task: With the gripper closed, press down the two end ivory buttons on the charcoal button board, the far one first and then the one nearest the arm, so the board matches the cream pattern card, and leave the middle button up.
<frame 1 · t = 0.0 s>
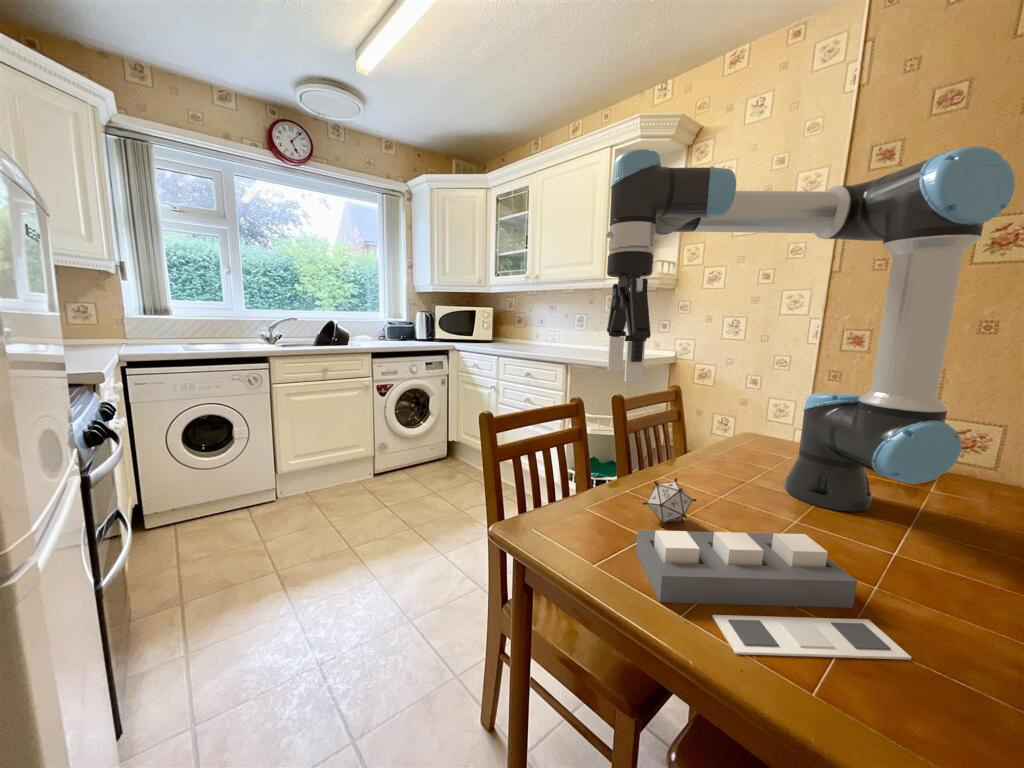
hand: (623, 375, 74), 28 cm above the table, tool pointing down, fingers open, 13 cm apart
pattern card: (805, 636, 51), on the table
button board: (733, 577, 62), on the table
middle button: (736, 550, 62), point 5 cm above the table, slide at 0.0 cm
game die: (667, 522, 79), on the table
button near arm: (798, 551, 61), point 5 cm above the table, slide at 0.0 cm
button far: (675, 548, 62), point 5 cm above the table, slide at 0.0 cm
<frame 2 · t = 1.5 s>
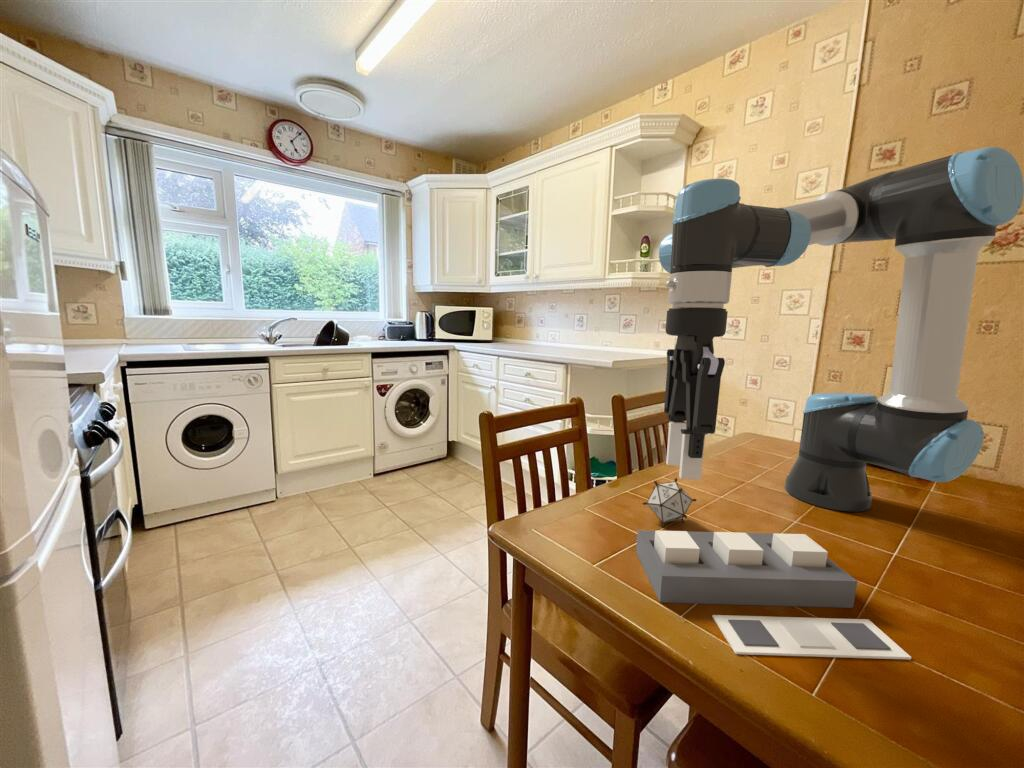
hand: (682, 470, 60), 17 cm above the table, tool pointing down, fingers open, 4 cm apart
nothing on the table moved.
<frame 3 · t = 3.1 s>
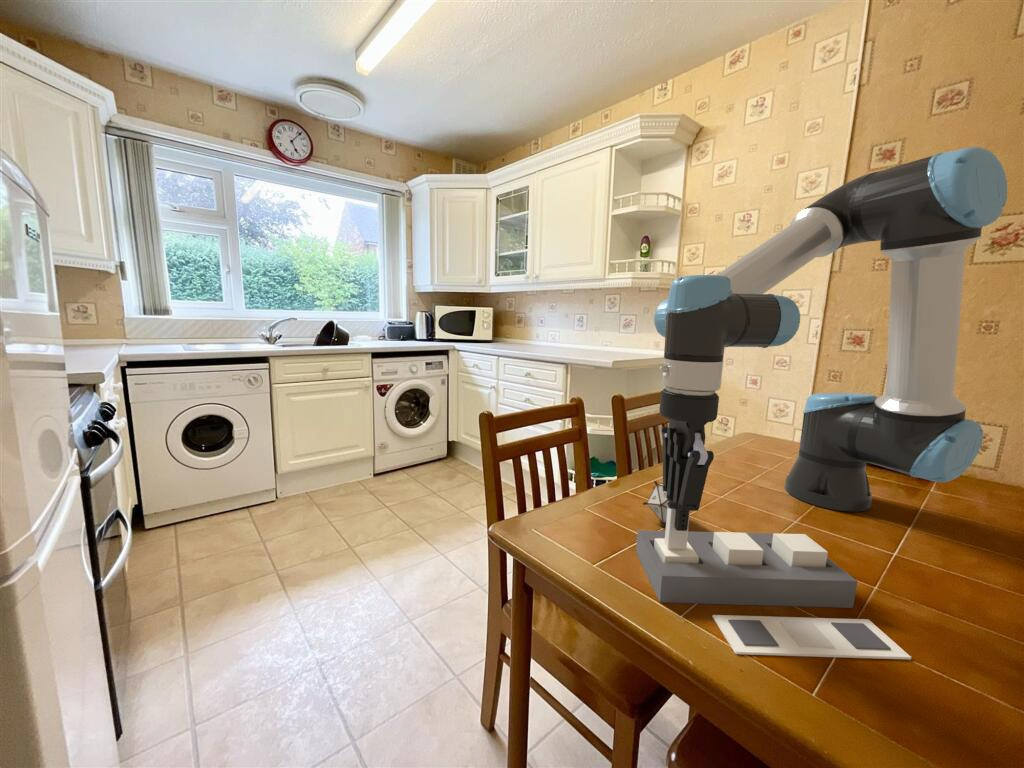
hand: (675, 545, 62), 5 cm above the table, tool pointing down, fingers closed
button far: (675, 556, 62), point 3 cm above the table, slide at 1.3 cm, touching gripper
everything else where it was.
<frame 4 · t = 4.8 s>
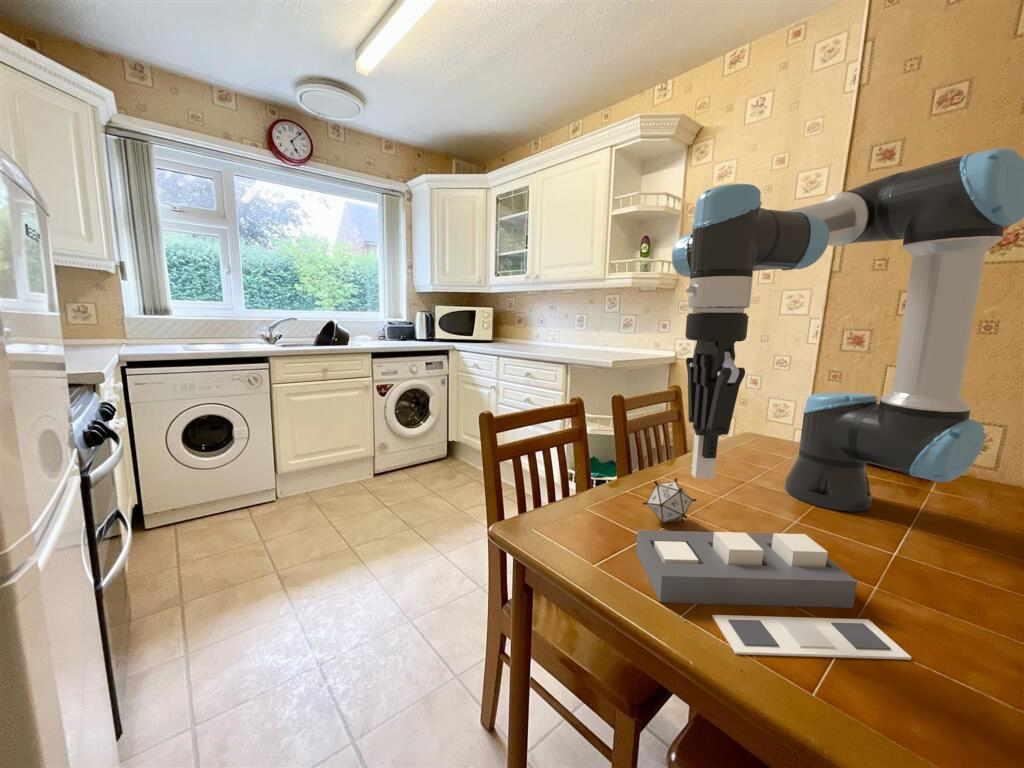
hand: (702, 476, 60), 16 cm above the table, tool pointing down, fingers closed
button far: (674, 559, 62), point 3 cm above the table, slide at 1.8 cm
everything else where it was.
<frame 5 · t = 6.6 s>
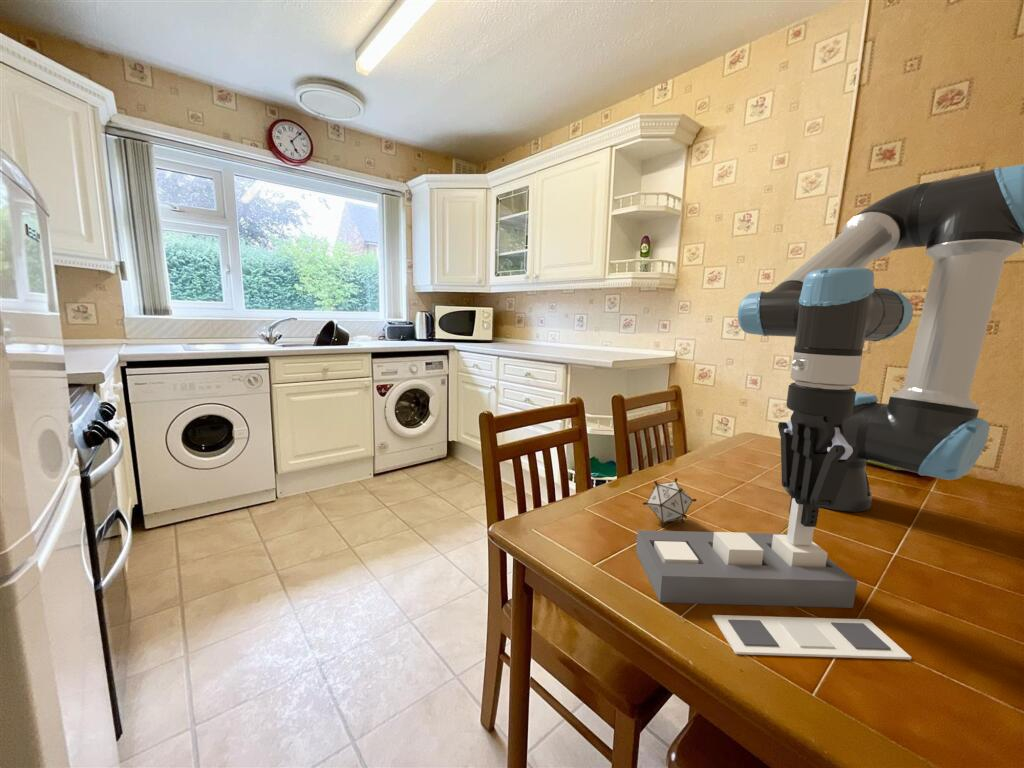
hand: (798, 542, 61), 6 cm above the table, tool pointing down, fingers closed
button near arm: (798, 552, 61), point 4 cm above the table, slide at 0.2 cm, touching gripper
everything else where it was.
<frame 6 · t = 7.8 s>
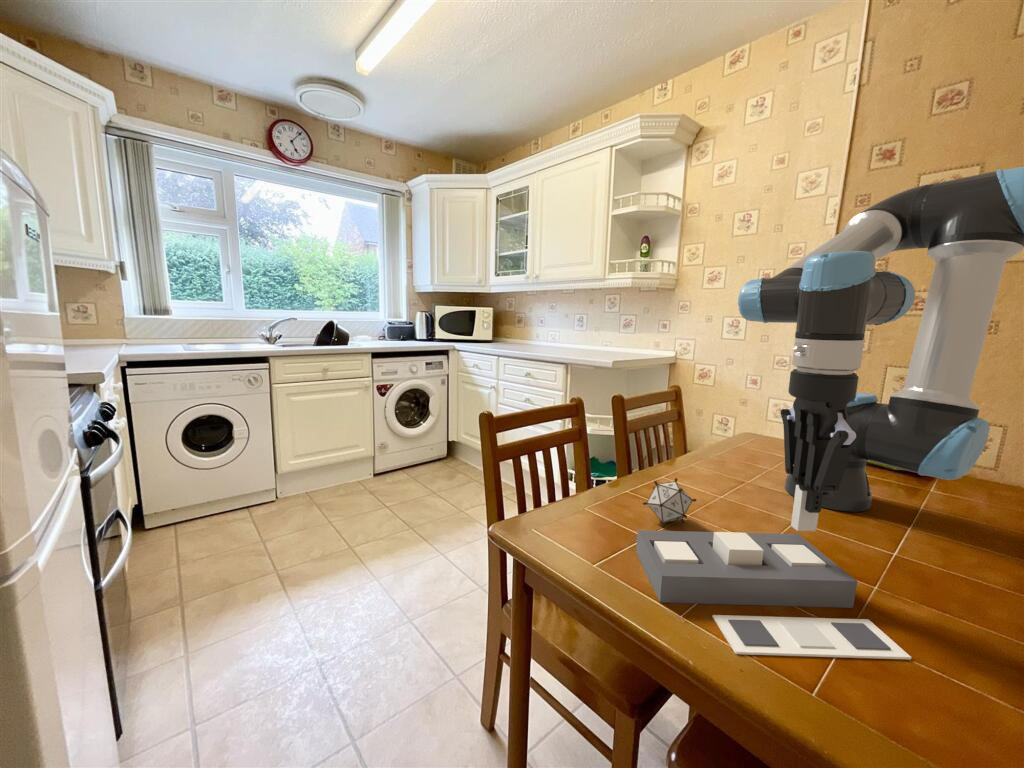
hand: (803, 528, 61), 8 cm above the table, tool pointing down, fingers closed
button near arm: (796, 562, 62), point 3 cm above the table, slide at 1.8 cm
everything else where it was.
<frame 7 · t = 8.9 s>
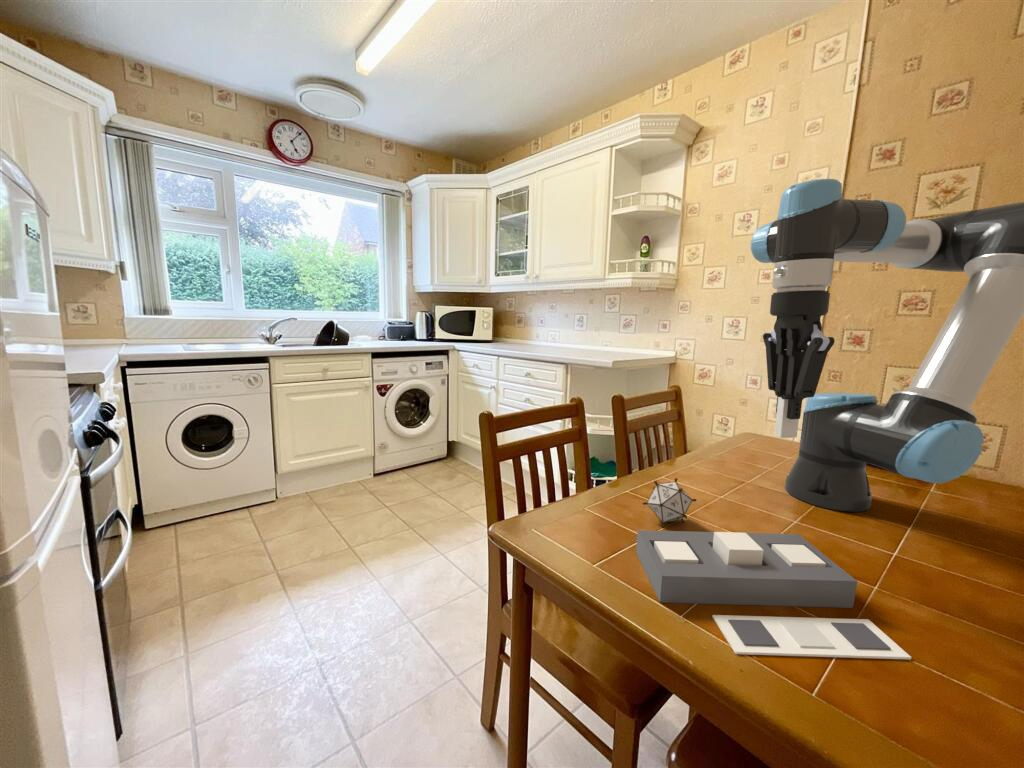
hand: (785, 436, 68), 19 cm above the table, tool pointing down, fingers closed
nothing on the table moved.
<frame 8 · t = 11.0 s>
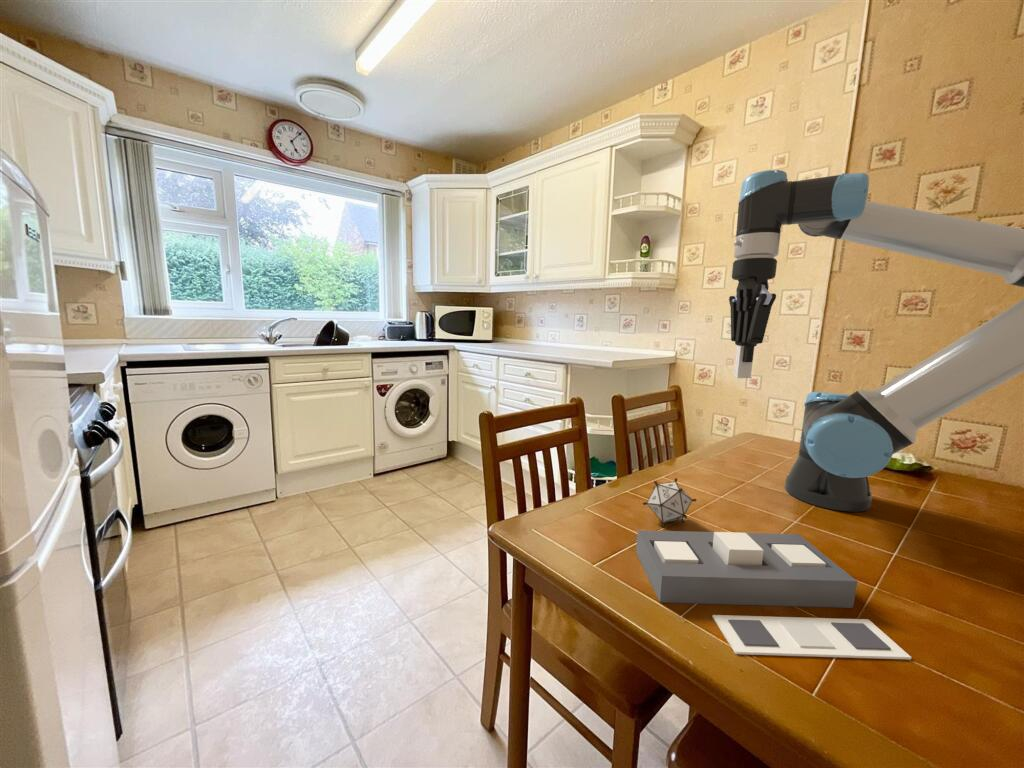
hand: (742, 377, 85), 26 cm above the table, tool pointing down, fingers closed
nothing on the table moved.
at the end: button far slide at 1.8 cm; button near arm slide at 1.8 cm; middle button slide at 0.0 cm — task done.
